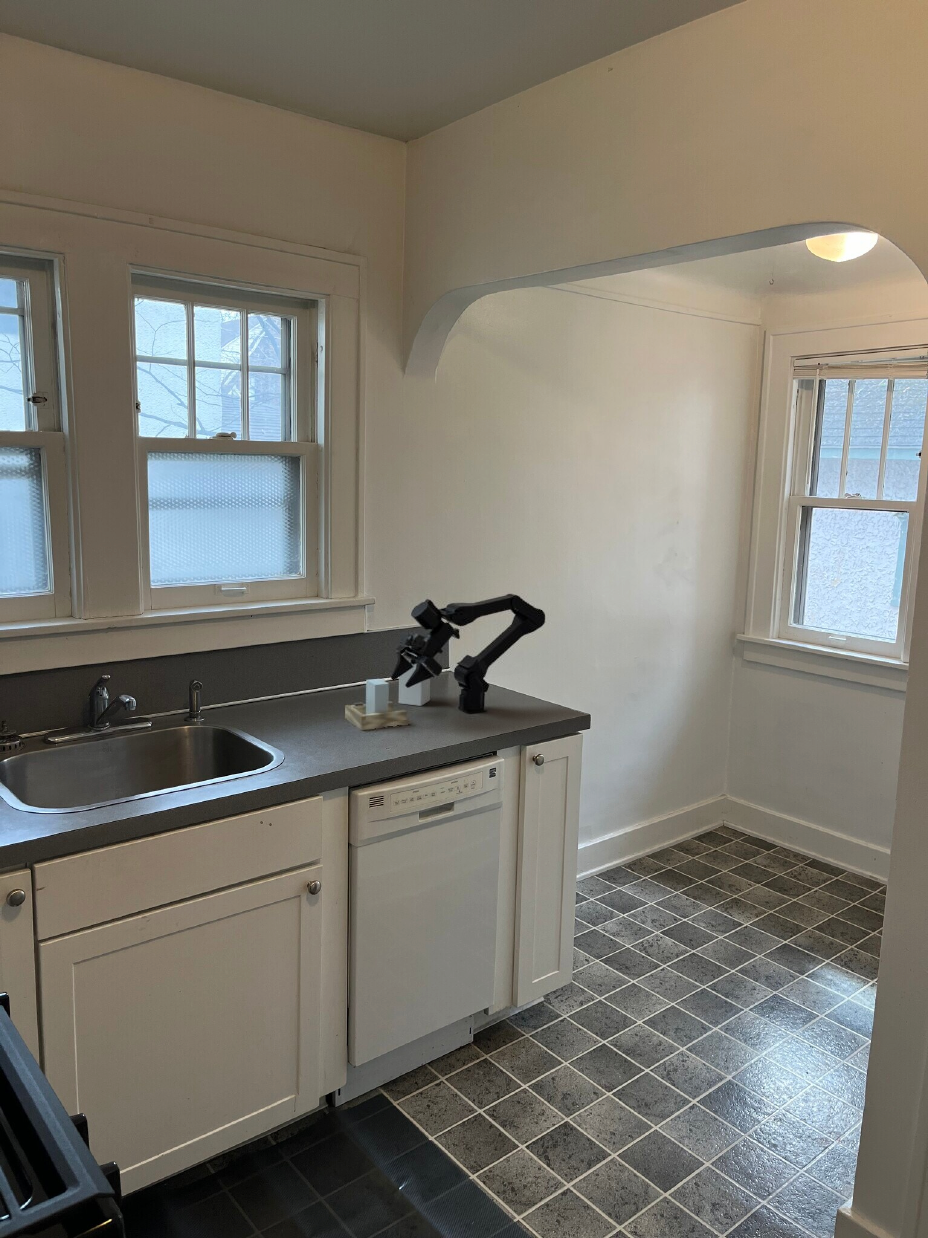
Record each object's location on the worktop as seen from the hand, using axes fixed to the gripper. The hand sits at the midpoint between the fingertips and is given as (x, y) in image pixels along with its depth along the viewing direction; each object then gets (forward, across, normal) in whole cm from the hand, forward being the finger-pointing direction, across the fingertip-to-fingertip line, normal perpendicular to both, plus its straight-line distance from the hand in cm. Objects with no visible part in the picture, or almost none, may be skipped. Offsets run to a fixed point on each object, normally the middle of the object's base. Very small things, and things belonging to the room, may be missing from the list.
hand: (399, 683), depth 255 cm
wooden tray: (+12, 0, +3) cm, 12 cm away
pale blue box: (+11, 0, +2) cm, 11 cm away
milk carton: (-1, -14, +16) cm, 21 cm away
